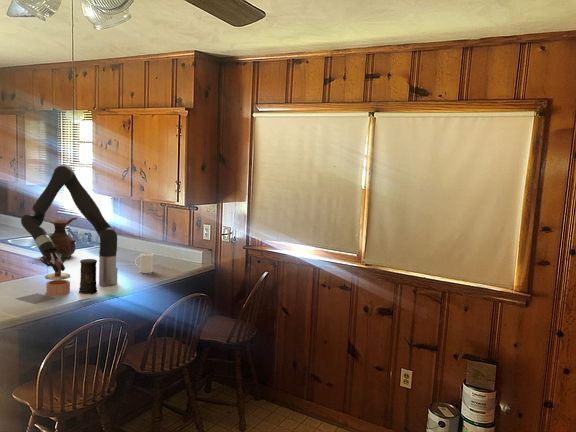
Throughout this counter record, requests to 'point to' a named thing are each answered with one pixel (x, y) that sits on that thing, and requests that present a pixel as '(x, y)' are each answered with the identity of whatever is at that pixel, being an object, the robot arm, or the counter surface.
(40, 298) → the mat
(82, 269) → the container
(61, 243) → the brown vase
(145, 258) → the mug
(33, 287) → the counter surface
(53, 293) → the bowl
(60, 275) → the lid
